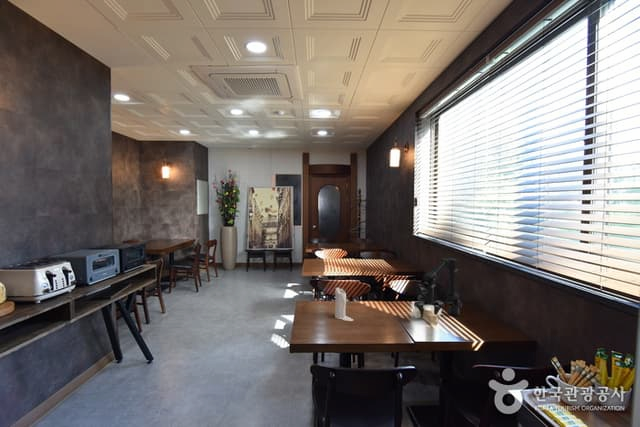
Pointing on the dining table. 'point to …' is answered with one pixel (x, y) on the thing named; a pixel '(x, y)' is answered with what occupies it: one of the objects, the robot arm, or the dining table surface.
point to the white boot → (341, 305)
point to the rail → (430, 317)
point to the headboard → (430, 308)
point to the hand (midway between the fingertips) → (428, 317)
